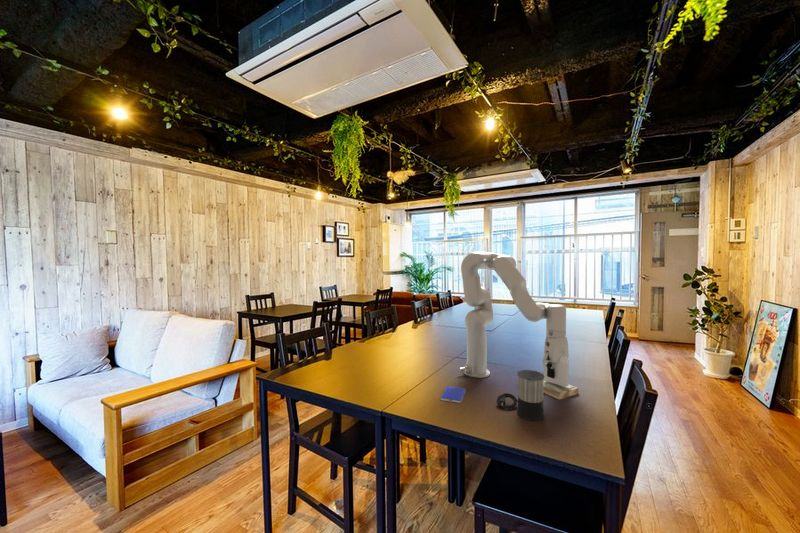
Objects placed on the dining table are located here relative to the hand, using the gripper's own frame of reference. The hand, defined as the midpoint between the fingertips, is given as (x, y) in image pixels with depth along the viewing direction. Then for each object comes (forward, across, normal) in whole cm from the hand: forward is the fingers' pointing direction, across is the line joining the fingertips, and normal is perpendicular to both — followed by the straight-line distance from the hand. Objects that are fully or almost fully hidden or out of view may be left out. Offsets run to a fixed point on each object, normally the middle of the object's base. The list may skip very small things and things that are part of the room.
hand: (555, 375), depth 135 cm
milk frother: (+7, -27, -6) cm, 29 cm away
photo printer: (+3, 0, 0) cm, 3 cm away
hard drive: (+8, -41, +16) cm, 45 cm away
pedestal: (+7, 0, 0) cm, 7 cm away
